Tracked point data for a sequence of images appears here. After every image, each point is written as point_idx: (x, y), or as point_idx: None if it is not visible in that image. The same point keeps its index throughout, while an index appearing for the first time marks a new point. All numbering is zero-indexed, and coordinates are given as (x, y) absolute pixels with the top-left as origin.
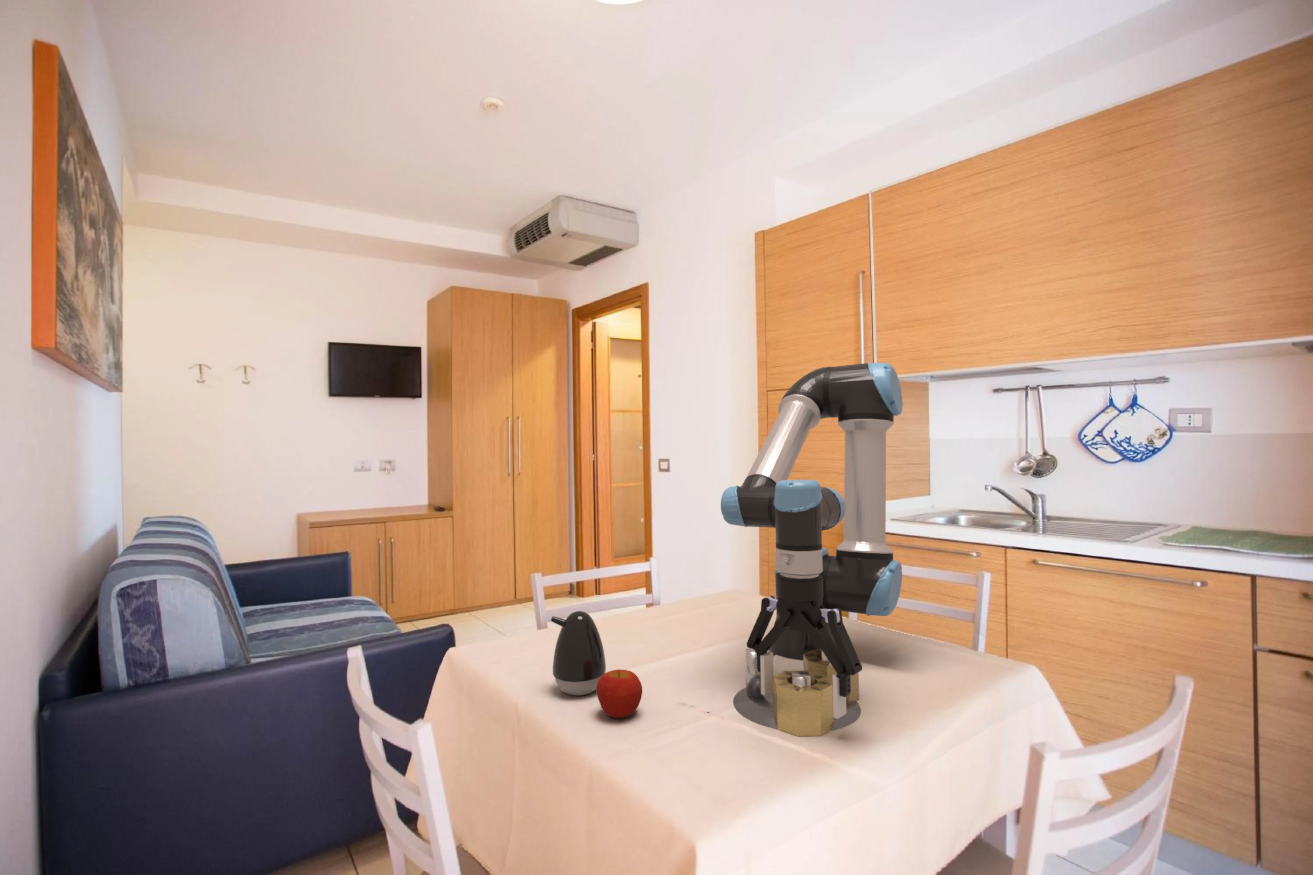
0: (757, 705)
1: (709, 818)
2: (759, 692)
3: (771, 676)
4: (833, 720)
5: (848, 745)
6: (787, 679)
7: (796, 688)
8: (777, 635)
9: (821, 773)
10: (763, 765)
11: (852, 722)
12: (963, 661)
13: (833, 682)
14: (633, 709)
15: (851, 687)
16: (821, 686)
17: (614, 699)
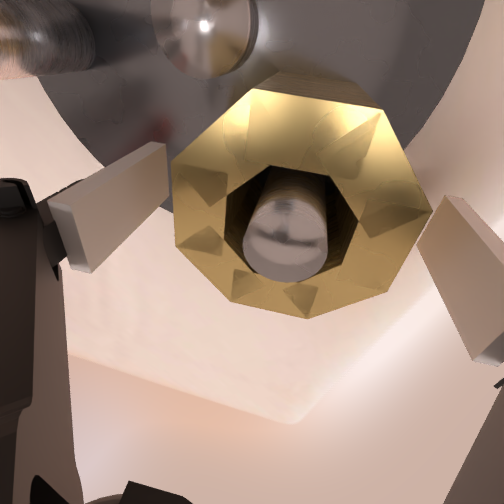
0: (138, 125)
1: (285, 408)
2: (86, 52)
3: (139, 174)
4: (383, 91)
5: (438, 193)
6: (225, 226)
7: (297, 300)
8: (58, 368)
9: (388, 313)
10: (288, 323)
11: (457, 62)
12: None
13: (462, 332)
14: None
15: None
16: (383, 253)
17: None
